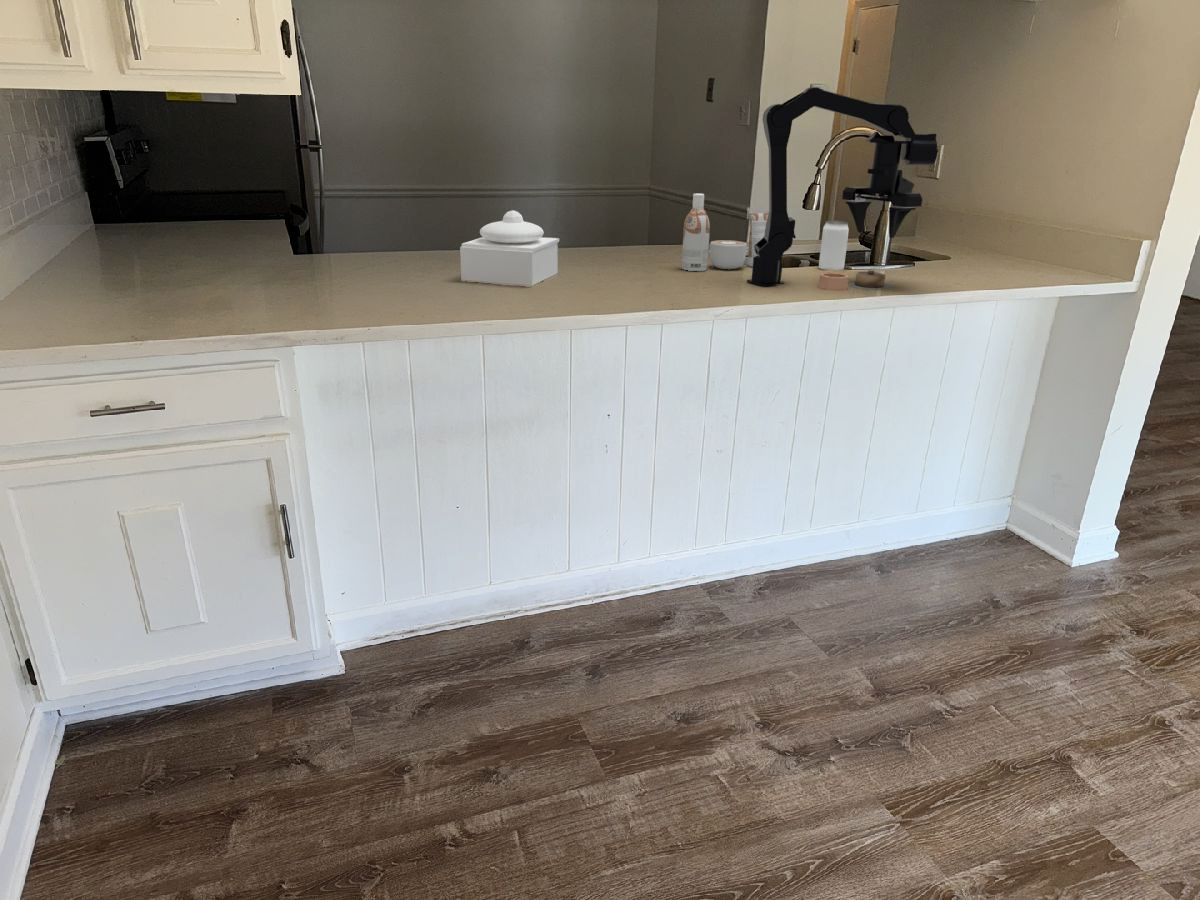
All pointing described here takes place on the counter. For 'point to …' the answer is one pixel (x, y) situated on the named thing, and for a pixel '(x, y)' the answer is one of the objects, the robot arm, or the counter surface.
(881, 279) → the lid
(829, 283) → the bowl
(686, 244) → the cosmetic set
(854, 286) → the mat
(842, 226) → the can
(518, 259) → the white lidded container
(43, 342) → the counter surface
